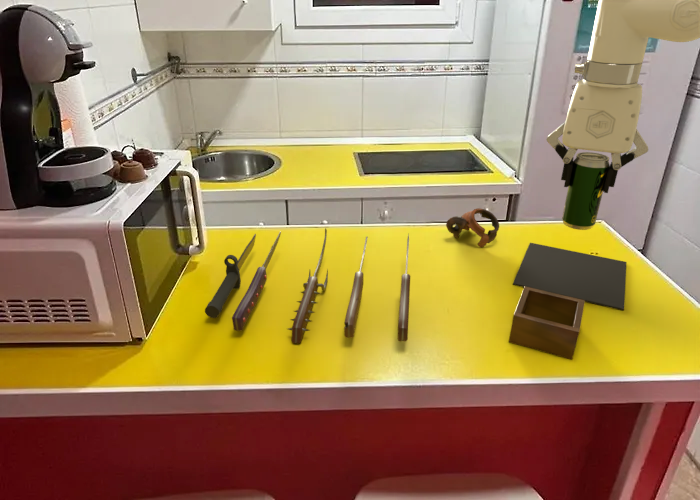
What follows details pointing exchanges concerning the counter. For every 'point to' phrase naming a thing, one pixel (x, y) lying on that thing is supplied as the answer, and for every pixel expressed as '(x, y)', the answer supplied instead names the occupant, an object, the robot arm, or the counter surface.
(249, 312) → the knife set
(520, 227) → the counter surface
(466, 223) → the brown curved piece
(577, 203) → the beer can
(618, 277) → the mat
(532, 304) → the box
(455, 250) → the counter surface
